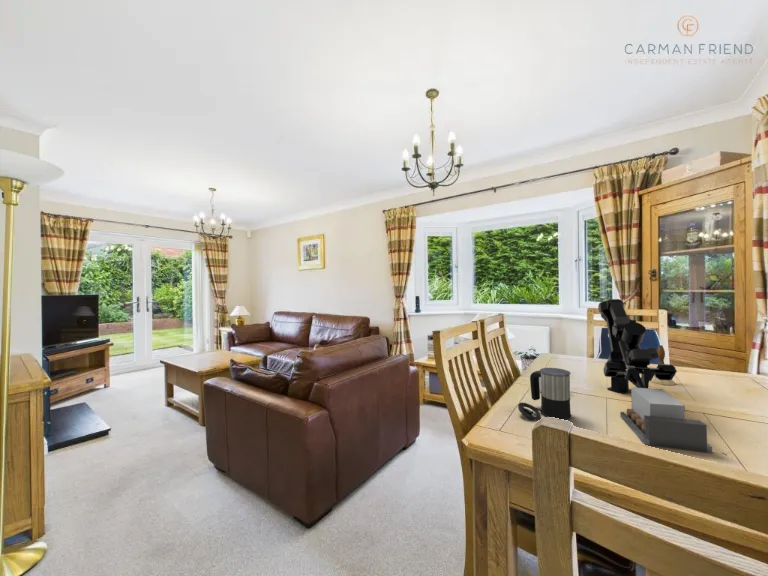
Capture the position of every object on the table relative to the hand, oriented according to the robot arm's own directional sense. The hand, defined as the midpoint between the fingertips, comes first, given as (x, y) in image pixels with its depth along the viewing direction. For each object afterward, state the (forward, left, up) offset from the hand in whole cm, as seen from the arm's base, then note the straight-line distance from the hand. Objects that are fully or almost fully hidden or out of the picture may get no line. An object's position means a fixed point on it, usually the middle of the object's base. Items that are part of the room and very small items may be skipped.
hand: (646, 394), depth 101 cm
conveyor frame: (+7, +6, -8) cm, 12 cm away
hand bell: (-48, -15, -8) cm, 51 cm away
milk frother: (+24, -19, -8) cm, 31 cm away
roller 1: (+1, +1, -8) cm, 8 cm away
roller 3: (+7, +6, -8) cm, 12 cm away
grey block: (+4, +4, -5) cm, 8 cm away
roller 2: (+4, +4, -8) cm, 9 cm away
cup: (+1, -32, -8) cm, 33 cm away
